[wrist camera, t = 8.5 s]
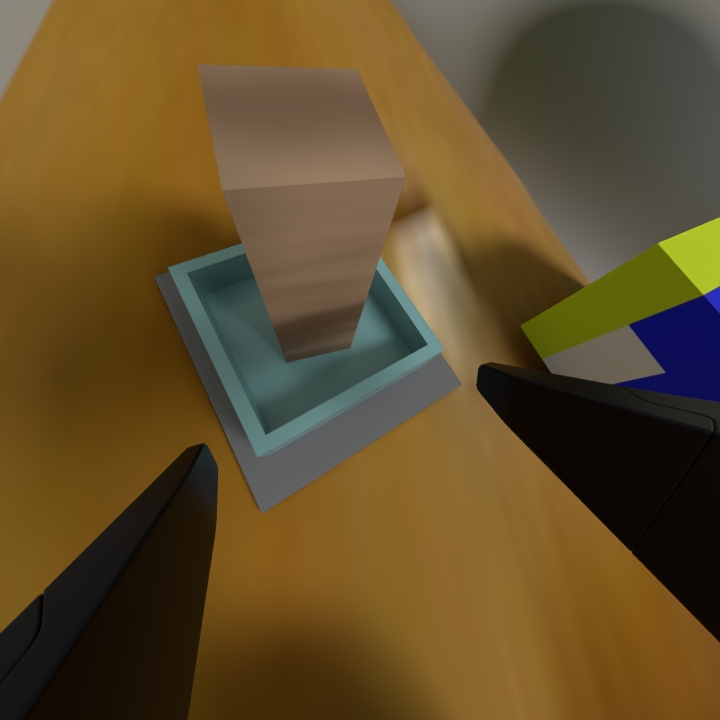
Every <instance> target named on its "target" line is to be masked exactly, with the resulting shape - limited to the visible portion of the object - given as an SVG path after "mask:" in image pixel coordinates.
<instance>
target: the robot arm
mask: <svg viewBox="0 0 720 720" xmlns="http://www.w3.org/2000/svg"><path fill="white" fill-rule="evenodd" d="M476 385H477V389H478V391H479V392H480V394H481V395H482V396H483V397H484V399H485V400H486V401H487V402H488V403H489V405H490V406H491V407H492V408H493V410H494V411H495V412H496V413H497V414H498V416H499V417H500V418H501V419H502V420H503V422H504V423H505V424H506V425H507V426H508V427H509V428H510V429H511V430H512V431H513V432H514V433H515V434H516V435H517V436H518V437H519V438H520V439H521V440H522V441H523V442H524V443H525V445H526V446H527V447H528V448H529V449H530V450H531V451H532V452H533V453H534V454H535V455H536V456H537V457H538V458H539V459H540V460H541V461H542V462H543V463H544V464H545V465H546V466H547V467H548V468H549V469H550V470H551V471H552V472H553V473H554V474H555V475H556V476H557V477H558V478H559V479H560V480H561V481H562V482H563V483H564V484H565V485H566V486H567V487H568V488H569V489H570V490H571V491H572V492H573V493H574V494H575V495H576V496H577V497H578V498H579V499H580V500H581V501H582V502H583V503H584V505H585V506H586V507H587V508H588V509H589V510H590V511H591V512H592V513H593V514H594V515H595V516H596V517H597V518H598V519H599V520H600V521H601V522H602V523H603V524H604V525H605V526H606V527H607V528H608V529H609V530H610V531H611V532H612V533H613V534H614V535H615V536H616V537H617V538H618V539H619V540H620V541H621V542H622V543H623V544H624V545H625V546H626V547H627V548H628V549H629V550H630V551H632V554H633V555H634V556H635V557H636V558H637V559H638V560H639V561H640V562H641V563H642V564H643V565H644V566H645V567H646V568H647V569H648V570H649V571H650V572H651V573H652V574H653V575H654V576H655V577H656V578H657V579H658V580H659V581H660V582H661V583H662V584H663V585H664V586H665V587H666V588H667V589H668V590H669V591H670V592H671V593H672V594H673V595H674V596H675V597H676V598H677V599H678V600H679V602H680V603H681V604H682V605H683V606H684V607H685V608H686V609H687V610H688V611H689V612H690V613H691V614H692V615H693V616H694V617H695V618H696V619H697V620H698V621H699V622H700V623H701V624H702V625H703V626H704V627H705V628H706V629H707V630H708V631H709V632H710V633H711V634H712V635H713V636H714V637H715V638H716V639H717V640H718V641H719V642H720V402H715V401H709V400H702V399H695V398H689V397H683V396H676V395H670V394H664V393H658V392H652V391H646V390H641V389H635V388H630V387H624V386H622V387H620V386H618V385H613V384H608V383H602V382H597V381H591V380H586V379H580V378H575V377H569V376H564V375H558V374H553V373H547V372H542V371H536V370H531V369H526V368H520V367H515V366H509V365H504V364H498V363H493V362H489V363H486V364H482V365H480V366H479V368H478V375H477V384H476ZM217 492H218V467H217V463H216V461H215V459H214V457H213V455H212V453H211V452H210V450H209V448H208V446H207V445H206V444H204V443H202V444H198V445H195V446H191V447H188V448H187V449H186V450H185V451H184V452H183V453H182V454H181V455H180V456H179V457H178V458H177V459H176V460H175V461H174V462H173V463H172V464H171V465H170V466H169V467H168V468H167V469H166V470H165V471H164V472H163V473H162V474H161V475H160V476H159V477H158V478H157V479H156V480H155V481H154V482H153V483H152V484H151V485H150V486H149V487H148V488H147V489H146V490H145V491H144V492H143V493H142V494H141V495H140V496H139V497H138V498H137V499H135V500H134V501H133V502H132V503H131V504H130V505H129V506H128V507H127V508H126V509H125V510H124V511H123V512H122V513H121V514H120V515H119V516H118V517H117V518H116V519H115V520H114V521H113V522H112V523H111V524H110V525H109V526H108V527H107V528H106V529H105V530H104V531H103V532H102V533H101V534H100V535H99V536H98V537H97V538H96V539H95V540H94V541H93V542H92V543H91V544H90V545H89V546H88V547H87V548H86V549H85V550H84V551H83V552H82V553H81V554H80V555H79V556H78V557H77V558H76V559H75V560H74V561H73V562H72V563H71V564H70V565H69V566H68V567H67V568H66V569H65V570H64V571H63V572H62V573H61V574H60V575H59V576H58V577H57V578H56V579H55V580H54V581H53V582H52V583H51V584H50V585H49V586H48V587H47V588H46V589H45V590H44V593H43V594H41V595H39V596H38V597H37V598H36V599H35V600H34V601H33V602H32V603H31V604H30V605H29V606H28V607H27V608H26V609H25V610H24V611H22V612H21V613H20V614H19V615H18V616H17V617H16V618H15V619H14V620H13V621H12V622H11V623H10V624H9V625H8V626H7V627H6V628H5V629H4V630H3V631H2V632H1V633H0V720H188V713H189V706H190V700H191V693H192V686H193V680H194V673H195V666H196V659H197V653H198V646H199V639H200V633H201V626H202V619H203V613H204V606H205V599H206V592H207V586H208V579H209V572H210V566H211V559H212V552H213V545H214V539H215V531H216V520H217Z"/></svg>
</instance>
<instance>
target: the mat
mask: <svg viewBox="0 0 720 720" xmlns="http://www.w3.org/2000/svg"><path fill="white" fill-rule="evenodd" d="M154 277H155V279H156V282H157V284H158V286H159V288H160V291H161V293H162V295H163V297H164V299H165V302H166V304H167V306H168V308H169V310H170V313H171V315H172V317H173V319H174V321H175V324H176V326H177V328H178V330H179V332H180V335H181V337H182V339H183V341H184V343H185V346H186V348H187V350H188V352H189V354H190V357H191V359H192V361H193V363H194V365H195V368H196V370H197V372H198V374H199V376H200V379H201V381H202V383H203V385H204V387H205V390H206V392H207V394H208V396H209V398H210V401H211V403H212V405H213V407H214V409H215V412H216V414H217V416H218V418H219V420H220V423H221V425H222V427H223V429H224V431H225V434H226V436H227V438H228V440H229V442H230V445H231V447H232V449H233V451H234V454H235V456H236V458H237V460H238V462H239V465H240V467H241V469H242V471H243V473H244V476H245V478H246V480H247V482H248V484H249V487H250V489H251V491H252V493H253V495H254V498H255V500H256V502H257V504H258V506H259V509H260V511H261V513H264V512H265V511H267V510H268V509H270V508H271V507H273V506H274V505H276V504H277V503H279V502H281V501H282V500H284V499H285V498H287V497H288V496H290V495H291V494H293V493H295V492H296V491H298V490H299V489H301V488H302V487H304V486H305V485H307V484H308V483H310V482H312V481H313V480H315V479H316V478H318V477H319V476H321V475H322V474H324V473H325V472H327V471H329V470H330V469H332V468H333V467H335V466H336V465H338V464H339V463H341V462H343V461H344V460H346V459H347V458H349V457H350V456H352V455H353V454H355V453H356V452H358V451H360V450H361V449H363V448H364V447H366V446H367V445H369V444H370V443H372V442H373V441H375V440H377V439H378V438H380V437H381V436H383V435H384V434H386V433H387V432H389V431H390V430H392V429H394V428H395V427H397V426H398V425H400V424H401V423H403V422H404V421H406V420H408V419H409V418H411V417H412V416H414V415H415V414H417V413H418V412H420V411H421V410H423V409H425V408H426V407H428V406H429V405H431V404H432V403H434V402H435V401H437V400H438V399H440V398H442V397H443V396H445V395H446V394H448V393H449V392H451V391H452V390H454V389H456V388H457V387H459V386H460V385H462V384H461V382H460V381H459V379H458V378H457V376H456V375H455V374H454V372H453V371H452V369H451V368H450V366H449V365H448V363H447V362H446V360H445V359H444V358H443V356H442V355H441V353H439V354H438V355H437V356H436V357H434V358H433V359H432V360H430V361H429V362H428V363H427V364H425V365H424V366H422V367H420V368H418V369H417V370H415V371H413V372H412V373H410V374H408V375H406V376H405V377H403V378H401V379H400V380H398V381H396V382H394V383H393V384H391V385H389V386H388V387H386V388H384V389H382V390H381V391H379V392H377V393H376V394H374V395H372V396H370V397H369V398H367V399H365V400H364V401H362V402H360V403H358V404H357V405H355V406H353V407H352V408H350V409H348V410H346V411H345V412H343V413H341V414H340V415H338V416H336V417H334V418H333V419H331V420H329V421H328V422H326V423H324V424H322V425H321V426H319V427H317V428H316V429H314V430H312V431H310V432H309V433H307V434H305V435H304V436H302V437H300V438H298V439H297V440H295V441H293V442H292V443H290V444H288V445H287V446H285V447H283V448H281V449H280V450H278V451H276V452H275V453H273V454H271V455H269V456H264V457H258V458H257V456H256V453H255V451H254V449H253V447H252V445H251V443H250V441H249V439H248V436H247V434H246V432H245V430H244V428H243V426H242V424H241V422H240V420H239V417H238V415H237V413H236V411H235V409H234V407H233V405H232V403H231V400H230V398H229V396H228V394H227V392H226V390H225V388H224V386H223V383H222V381H221V379H220V377H219V375H218V373H217V371H216V369H215V367H214V364H213V362H212V360H211V358H210V356H209V354H208V352H207V350H206V347H205V345H204V343H203V341H202V339H201V337H200V335H199V333H198V330H197V328H196V326H195V324H194V322H193V320H192V318H191V316H190V314H189V311H188V309H187V307H186V305H185V303H184V301H183V299H182V297H181V294H180V292H179V290H178V288H177V286H176V284H175V282H174V280H173V278H172V275H171V273H170V272H167V273H163V274H160V275H157V276H154Z"/></svg>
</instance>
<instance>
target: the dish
mask: <svg viewBox="0 0 720 720" xmlns="http://www.w3.org/2000/svg"><path fill="white" fill-rule="evenodd" d="M168 269H169V271H170V273H171V275H172V278H173V280H174V282H175V284H176V286H177V288H178V290H179V292H180V294H181V297H182V299H183V301H184V303H185V305H186V307H187V309H188V311H189V314H190V316H191V318H192V320H193V322H194V324H195V326H196V328H197V330H198V333H199V335H200V337H201V339H202V341H203V343H204V345H205V347H206V350H207V352H208V354H209V356H210V358H211V360H212V362H213V364H214V367H215V369H216V371H217V373H218V375H219V377H220V379H221V381H222V383H223V386H224V388H225V390H226V392H227V394H228V396H229V398H230V400H231V403H232V405H233V407H234V409H235V411H236V413H237V415H238V417H239V420H240V422H241V424H242V426H243V428H244V430H245V432H246V434H247V436H248V439H249V441H250V443H251V445H252V447H253V449H254V451H255V453H256V456H257V458H258V457H264V456H269V455H271V454H273V453H275V452H276V451H278V450H280V449H281V448H283V447H285V446H287V445H288V444H290V443H292V442H293V441H295V440H297V439H298V438H300V437H302V436H304V435H305V434H307V433H309V432H310V431H312V430H314V429H316V428H317V427H319V426H321V425H322V424H324V423H326V422H328V421H329V420H331V419H333V418H334V417H336V416H338V415H340V414H341V413H343V412H345V411H346V410H348V409H350V408H352V407H353V406H355V405H357V404H358V403H360V402H362V401H364V400H365V399H367V398H369V397H370V396H372V395H374V394H376V393H377V392H379V391H381V390H382V389H384V388H386V387H388V386H389V385H391V384H393V383H394V382H396V381H398V380H400V379H401V378H403V377H405V376H406V375H408V374H410V373H412V372H413V371H415V370H417V369H418V368H420V367H422V366H424V365H425V364H427V363H428V362H429V361H430V360H432V359H433V358H434V357H436V356H437V355H438V354H439V353H441V352H442V351H443V350H445V349H444V348H443V346H442V345H441V344H440V342H439V341H438V339H437V338H436V336H435V335H434V333H433V332H432V331H431V329H430V328H429V326H428V325H427V323H426V322H425V320H424V319H423V318H422V316H421V315H420V313H419V312H418V310H417V309H416V307H415V306H414V305H413V303H412V302H411V300H410V299H409V297H408V296H407V294H406V293H405V292H404V290H403V289H402V287H401V286H400V284H399V283H398V282H397V280H396V279H395V277H394V276H393V274H392V273H391V271H390V270H389V269H388V267H387V266H386V264H385V263H384V261H383V260H382V258H381V257H380V258H379V261H378V265H377V268H376V271H375V274H374V277H373V280H372V283H371V286H370V289H369V292H368V295H367V298H366V301H365V305H364V308H363V311H362V314H361V317H360V320H359V323H358V326H357V329H356V332H355V335H354V338H353V341H352V345H351V348H349V349H345V350H340V351H336V352H332V353H327V354H323V355H318V356H314V357H310V358H305V359H301V360H297V361H292V362H288V363H286V360H285V357H284V355H283V352H282V349H281V347H280V344H279V341H278V339H277V336H276V333H275V331H274V328H273V325H272V322H271V320H270V317H269V314H268V312H267V309H266V306H265V304H264V301H263V298H262V296H261V293H260V290H259V288H258V285H257V282H256V280H255V277H254V274H253V272H252V269H251V266H250V264H249V261H248V258H247V255H246V253H245V250H244V247H243V245H242V243H241V244H238V245H235V246H232V247H229V248H226V249H223V250H220V251H217V252H214V253H211V254H207V255H204V256H201V257H198V258H195V259H192V260H189V261H186V262H183V263H180V264H177V265H174V266H170V267H168Z"/></svg>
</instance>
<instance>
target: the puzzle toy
mask: <svg viewBox="0 0 720 720" xmlns="http://www.w3.org/2000/svg"><path fill="white" fill-rule="evenodd" d="M520 327H521V328H522V330H523V331H524V333H525V334H526V336H527V337H528V339H529V340H530V342H531V343H532V345H533V346H534V348H535V349H536V351H537V352H538V354H539V355H540V357H541V358H542V360H543V361H544V363H545V364H546V366H547V367H548V369H549V370H550V372H551V373H553V374H558V375H564V376H569V377H575V378H580V379H586V380H591V381H597V382H602V383H608V384H613V385H618V386H620V387H622V386H624V387H630V388H635V389H641V390H646V391H652V392H658V393H664V394H670V395H676V396H683V397H689V398H695V399H702V400H709V401H715V402H720V218H717V219H715V220H713V221H710V222H708V223H705V224H703V225H701V226H698V227H696V228H693V229H691V230H689V231H686V232H684V233H682V234H679V235H677V236H674V237H672V238H670V239H667V240H665V241H662V242H660V243H658V244H656V245H654V246H653V247H651V248H649V249H648V250H646V251H644V252H643V253H641V254H639V255H638V256H636V257H634V258H633V259H631V260H629V261H628V262H626V263H624V264H623V265H621V266H619V267H618V268H616V269H614V270H613V271H611V272H609V273H608V274H606V275H605V276H603V277H601V278H600V279H598V280H596V281H594V282H593V283H591V284H589V285H588V286H586V287H584V288H583V289H581V290H579V291H578V292H576V293H574V294H573V295H571V296H569V297H568V298H566V299H564V300H563V301H561V302H559V303H558V304H556V305H554V306H553V307H551V308H549V309H548V310H546V311H544V312H543V313H541V314H539V315H538V316H536V317H534V318H533V319H531V320H529V321H528V322H526V323H524V324H523V325H521V326H520Z"/></svg>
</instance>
